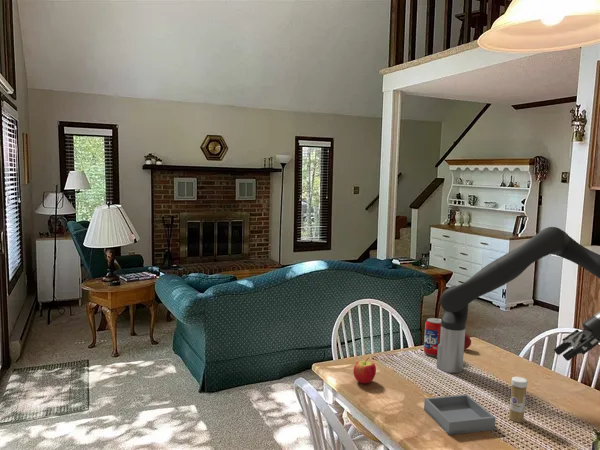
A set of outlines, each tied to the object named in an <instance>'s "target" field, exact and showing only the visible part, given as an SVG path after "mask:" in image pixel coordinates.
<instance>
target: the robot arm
mask: <svg viewBox="0 0 600 450" xmlns="http://www.w3.org/2000/svg"><path fill="white" fill-rule="evenodd" d="M549 255H554V256H557V257H560V258H563V259H565V260H568V261H569V262H572V263H573V264H576V265H578V266H580V267H581V268H582V269H584V270H586V271H587V272H589V273H590V274H592V275H593V276H595V277H596V278H598V279H600V254H599V253H596V252H595V251H592V250H590V249H588V248H587V247H586V246H585V247H584V246H583V245H582V244H580V243H579V242H578V241H576V240H575V239H574V238H572V236H570V235H569V234H568V233H567V232H566V231H564V230H563V229H561V228H559V227H556V226H548V227H546V228H544V229H542V230H541V231H539V232H538V233H536V234H535V235H534V236H532V237H531V238H530V239H528V240H526V242H524V243H523V244H521V245H520V246H518V247H516V248H514V249H513V250H510V251H509V252H506V253H505V254H504V255H502V256H500V257H498V258H496V259H495V260H493V261H491V262H490V263H488V264H486V265H485V266H483V268H481V269H480V270H478V271H477V272H476V273H475V274H473V276H470V278H468V279H467V280H465V281H464V282H463V283H462V282H461V284H458V285H451V286H450V287H448V288H447V289H446V290H444V291H443V293H442V294H441V296H440V298H439V299H440V300H439V301H440V306H441V308H442V309H443V313H442V316H441V318H440V319H441V334H440V344H438V351H437V356H436V368H437V369H440V370H441V371H443V372H446V373H450V374H451V373H452V374H459V373H462V371H463V369H464V355H465V350H464V341H465V332H466V325H467V321H468V312H469V304H470V303H471V302H473V301H475V300H476V299H478V298H479V297H482V296H483V295H486V294H488V293H491V292H492V291H494V290H497V289H499V288H500V287H504V285H507V284H508V283H510V282H512V281H513V280H515V279H516V278H518V277H519V276H520V275H521V274H523V273H524V271H525V270H526V269H528V267H530V266H531V265H532V264H533V263H536V262H537V261H538V260H541V259H542V258H544V257H547V256H549ZM581 325H582V328H583V330H581V331H580V330H579V329H575V330H574V331H573V332H571V333H570V334H568V335H567V336H565V337H563V338H562V339H561V340H562V343H561V344H559V345H557V346H556V347H554V348H553V351H554V353H555V354H556V355H557V356H560V355H561V354H562V357H563V358H564V359H565V360H566V361H571V360H572V359H573V358H575V357H576V356H578V355H586V353H588V352H589V351H591V350H592V349H593V348H595V347H596V346H597V345H599V344H600V310H599V311H598V312H596V313H595V314H594V315H592V316H591V317H589V318H588V319H586V320H585V321H584V322H582V324H581Z"/></svg>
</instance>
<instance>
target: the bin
mask: <svg viewBox="0 0 600 450" xmlns="http://www.w3.org/2000/svg"><path fill="white" fill-rule="evenodd" d="M423 401H424V403H423V411H424V412H425V413H426V414H428V415H429V417H432V418H433V419H434V420H435V421H436V422H437V423H438V424H437V423H436V422H435V421H434V420H433V419H432V418H431V419H432V420H433V421H434V422H435V423H436V424H437V425H438V426H439V427H440V428H441V429H442V430H443V431H444V432H445V431H446V432H445V433H446V434H447V436H454V435H461V434H462V435H463V434H471V433H472V434H473V433H479V432H480V431H481V432H488V431H495V429H496V416H495V415H493V414H492V413H491V412H490V411H489V410H487V409H486V408H485V407H483V406H482V405H481V404H480V403H478V401H476V400H475V399H474V398H472V397H471V396H470V395H468V394H457V395H456V394H455V395H446V396H435V397H425V398H424V400H423Z"/></svg>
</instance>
